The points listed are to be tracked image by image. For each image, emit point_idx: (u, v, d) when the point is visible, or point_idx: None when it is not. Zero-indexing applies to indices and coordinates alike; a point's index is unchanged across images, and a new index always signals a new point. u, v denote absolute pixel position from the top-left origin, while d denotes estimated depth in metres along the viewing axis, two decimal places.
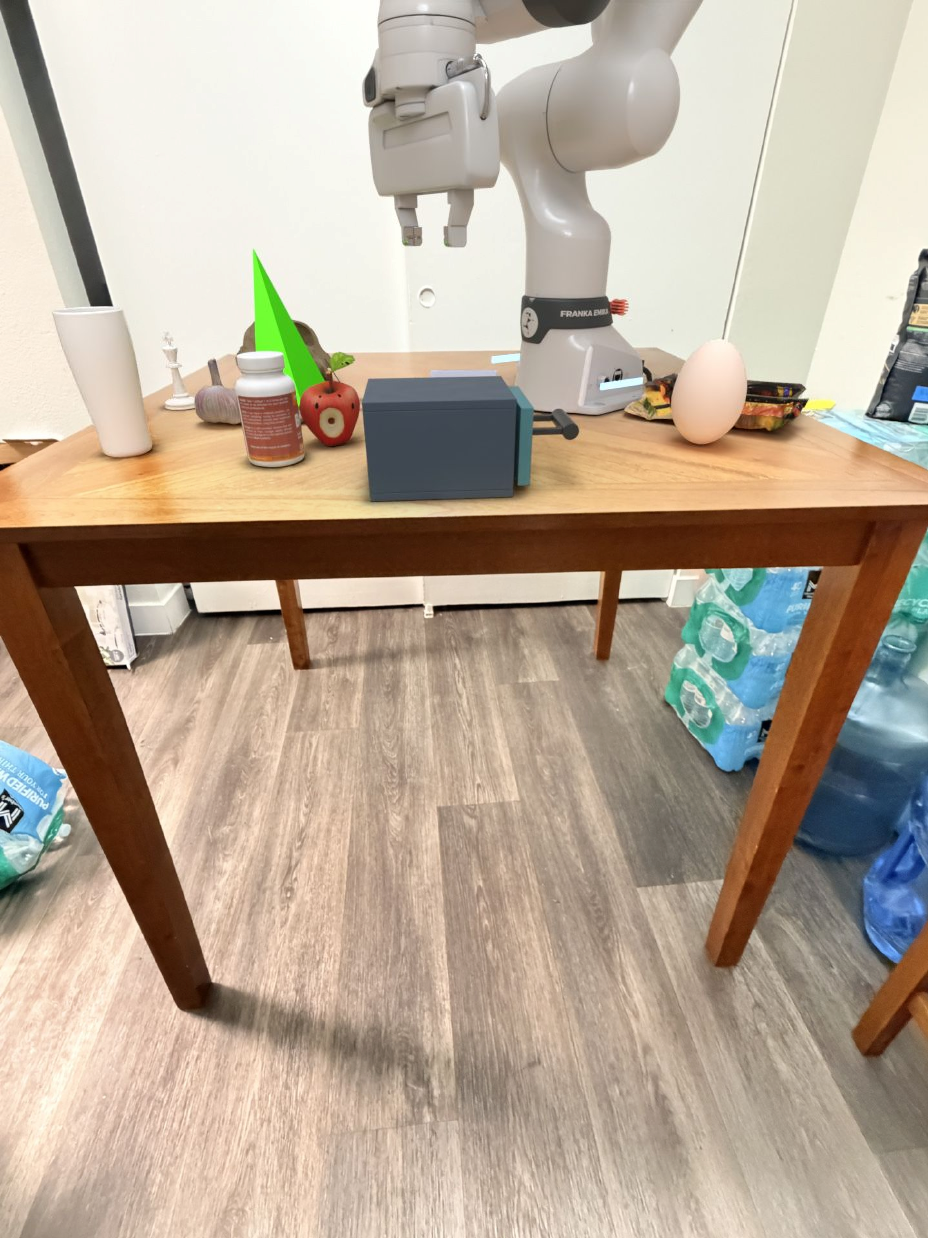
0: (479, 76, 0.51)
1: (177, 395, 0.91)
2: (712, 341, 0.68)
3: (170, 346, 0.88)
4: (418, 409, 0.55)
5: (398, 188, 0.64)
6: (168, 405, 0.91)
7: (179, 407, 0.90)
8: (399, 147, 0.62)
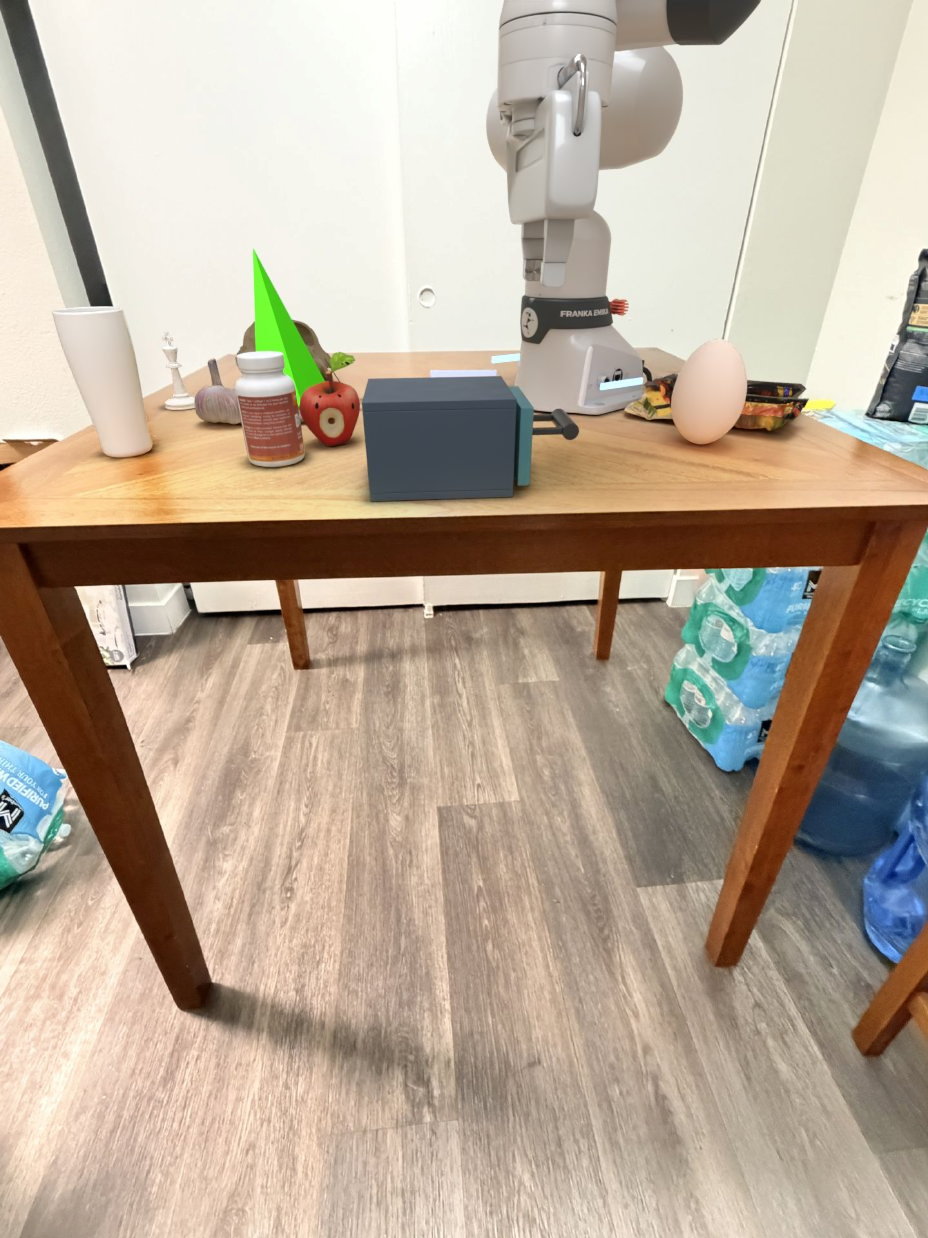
0: (575, 83, 0.41)
1: (177, 395, 0.91)
2: (712, 341, 0.68)
3: (170, 346, 0.88)
4: (418, 409, 0.55)
5: (518, 216, 0.56)
6: (168, 405, 0.91)
7: (179, 407, 0.90)
8: (521, 170, 0.54)
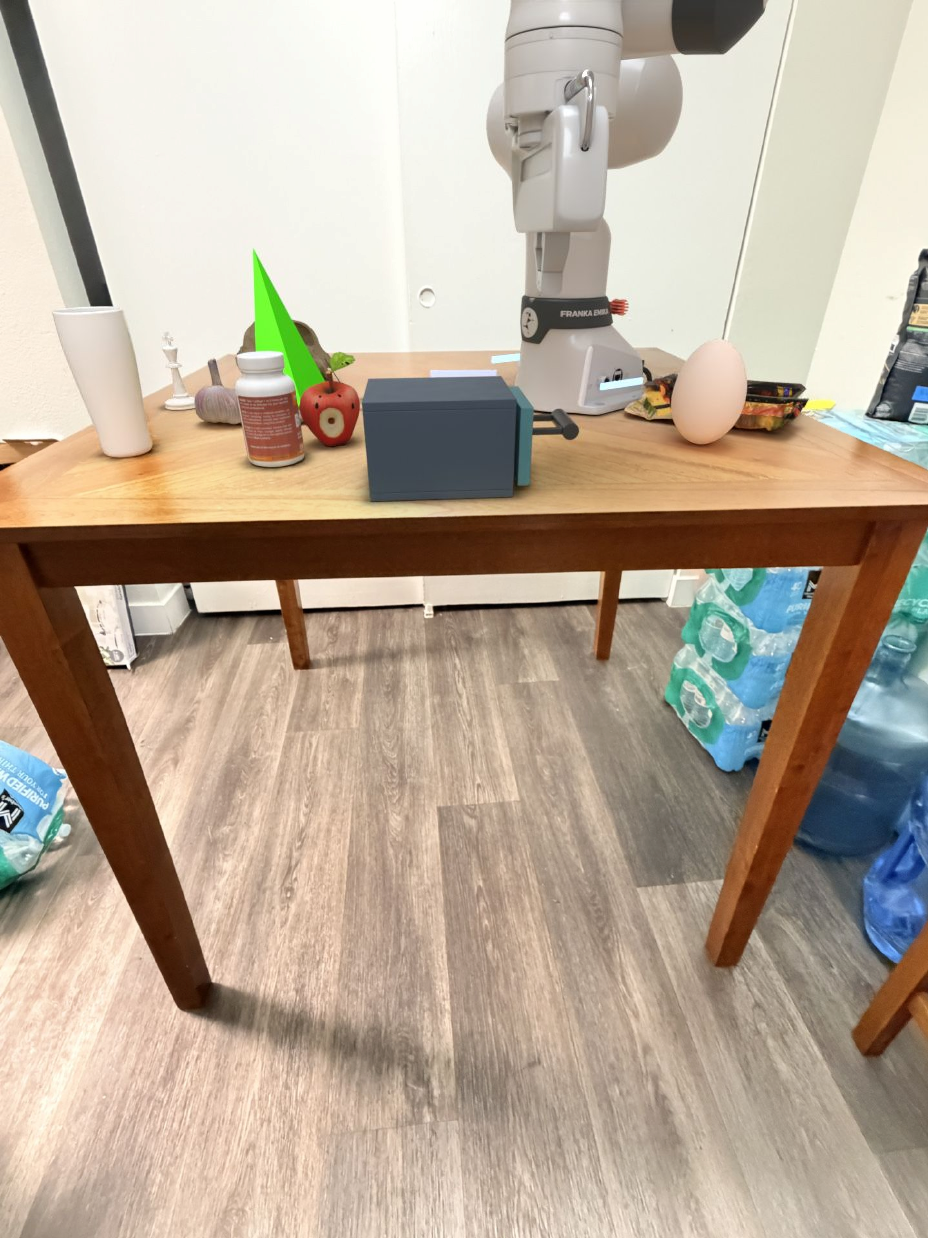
0: (582, 99, 0.41)
1: (177, 395, 0.91)
2: (712, 341, 0.68)
3: (170, 346, 0.88)
4: (418, 409, 0.55)
5: (524, 226, 0.56)
6: (168, 405, 0.91)
7: (179, 407, 0.90)
8: (527, 181, 0.54)
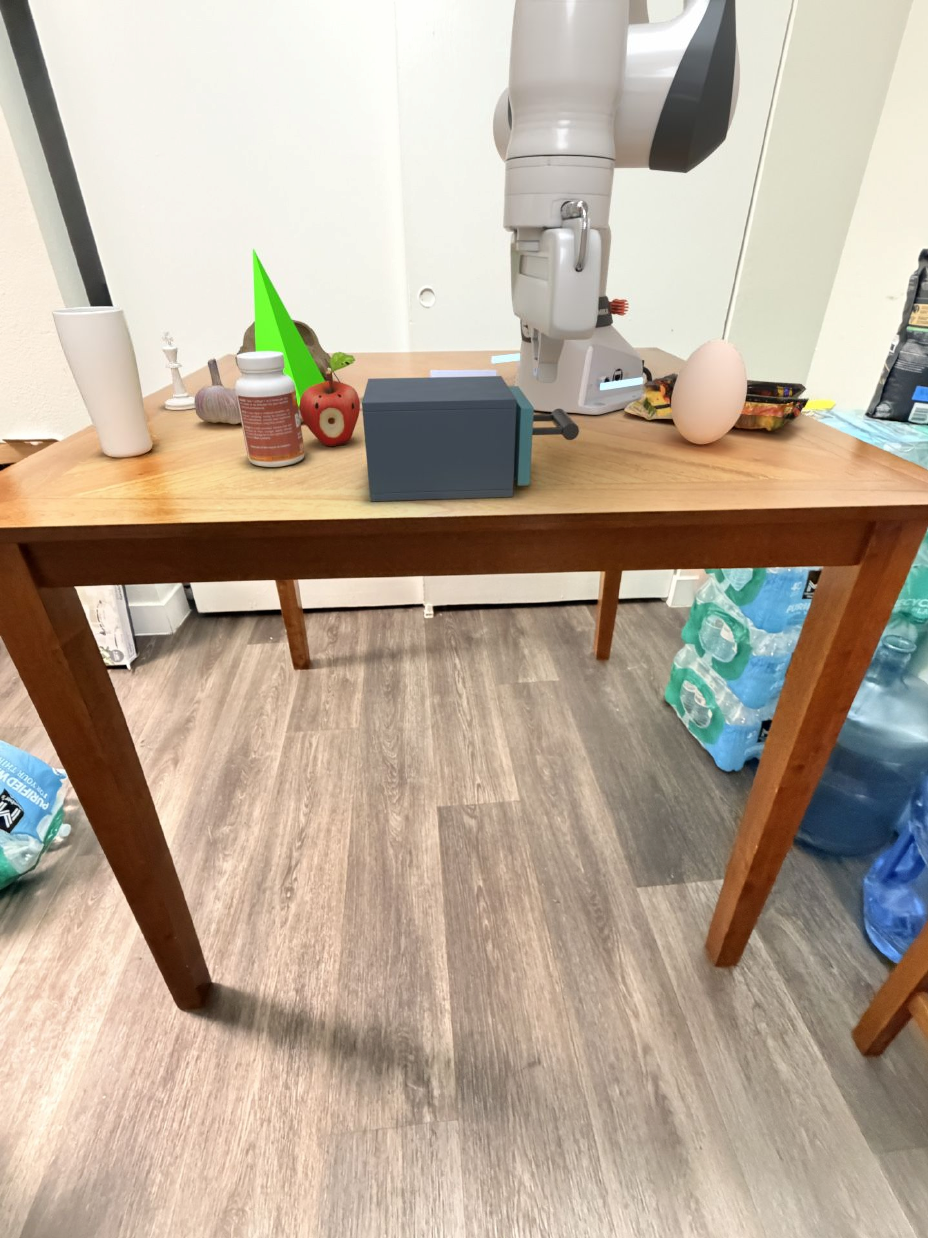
0: (577, 227, 0.45)
1: (177, 395, 0.91)
2: (712, 341, 0.68)
3: (170, 346, 0.88)
4: (418, 409, 0.55)
5: (522, 316, 0.60)
6: (168, 405, 0.91)
7: (179, 407, 0.90)
8: (525, 277, 0.57)
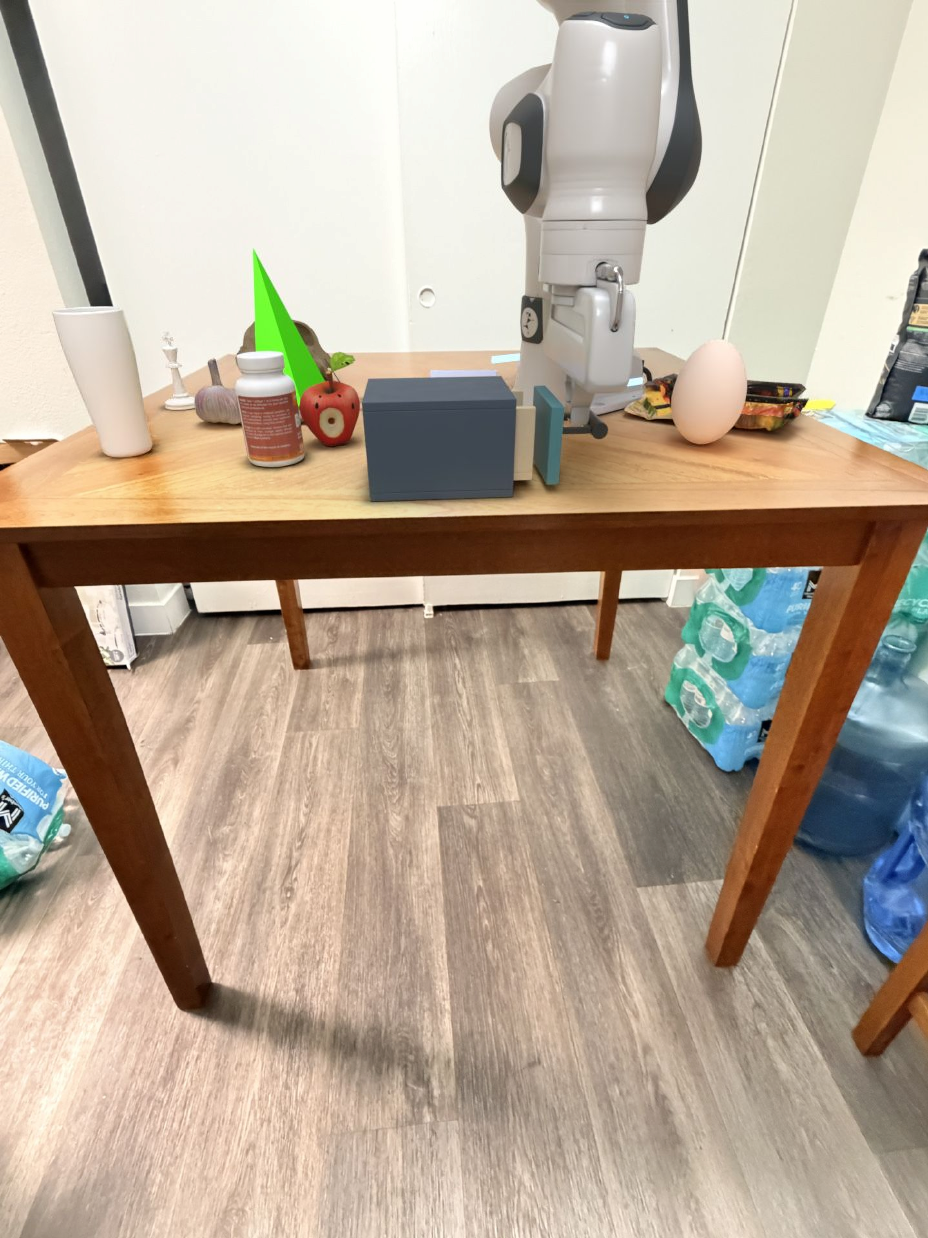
0: (613, 292, 0.47)
1: (177, 395, 0.91)
2: (712, 341, 0.68)
3: (170, 346, 0.88)
4: (418, 409, 0.55)
5: (554, 360, 0.62)
6: (168, 405, 0.91)
7: (179, 407, 0.90)
8: (558, 324, 0.60)
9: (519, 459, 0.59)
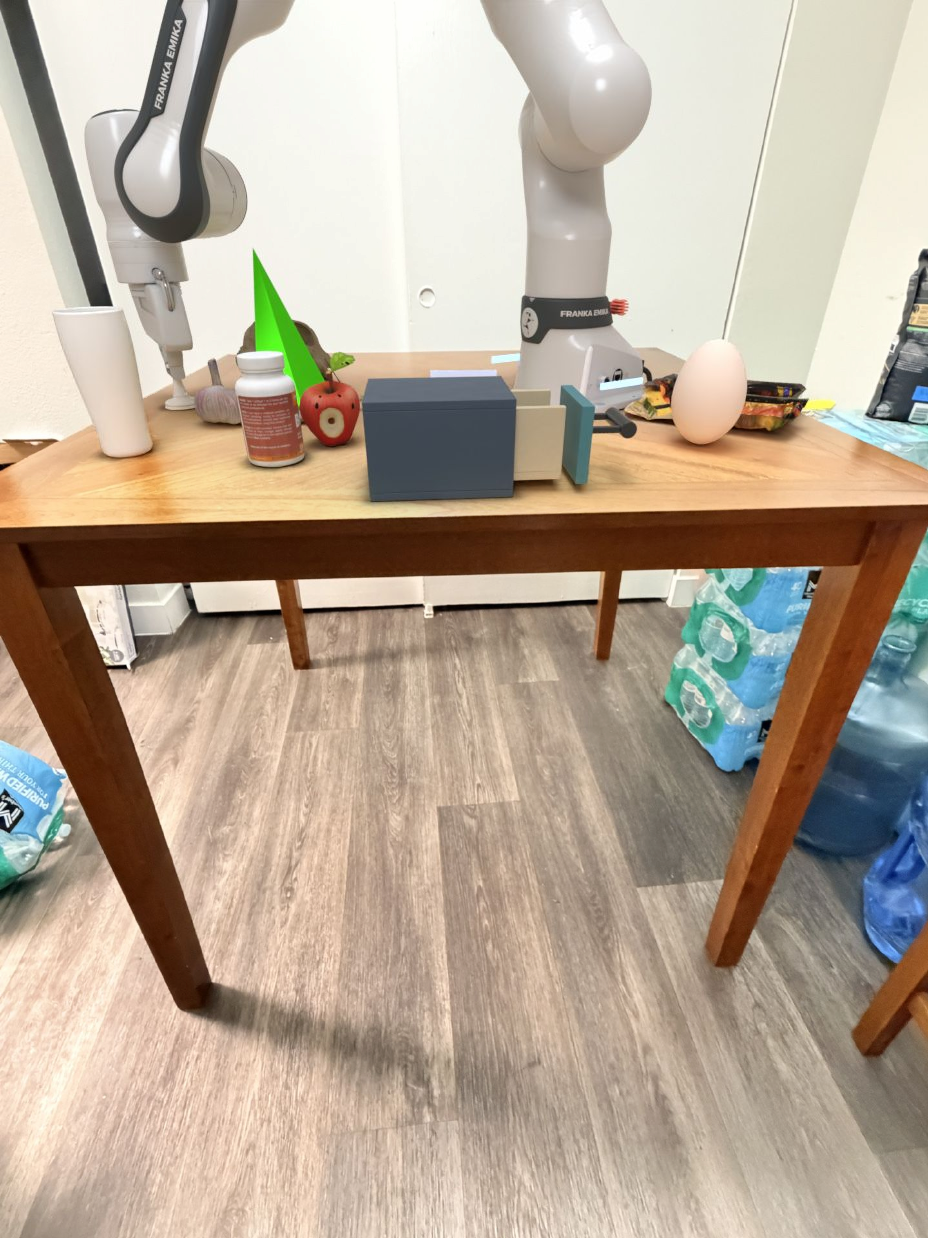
0: (162, 286, 0.77)
1: (177, 395, 0.91)
2: (712, 341, 0.68)
3: None
4: (418, 409, 0.55)
5: (150, 336, 0.90)
6: (168, 405, 0.91)
7: (179, 407, 0.90)
8: (144, 311, 0.87)
9: (548, 458, 0.60)
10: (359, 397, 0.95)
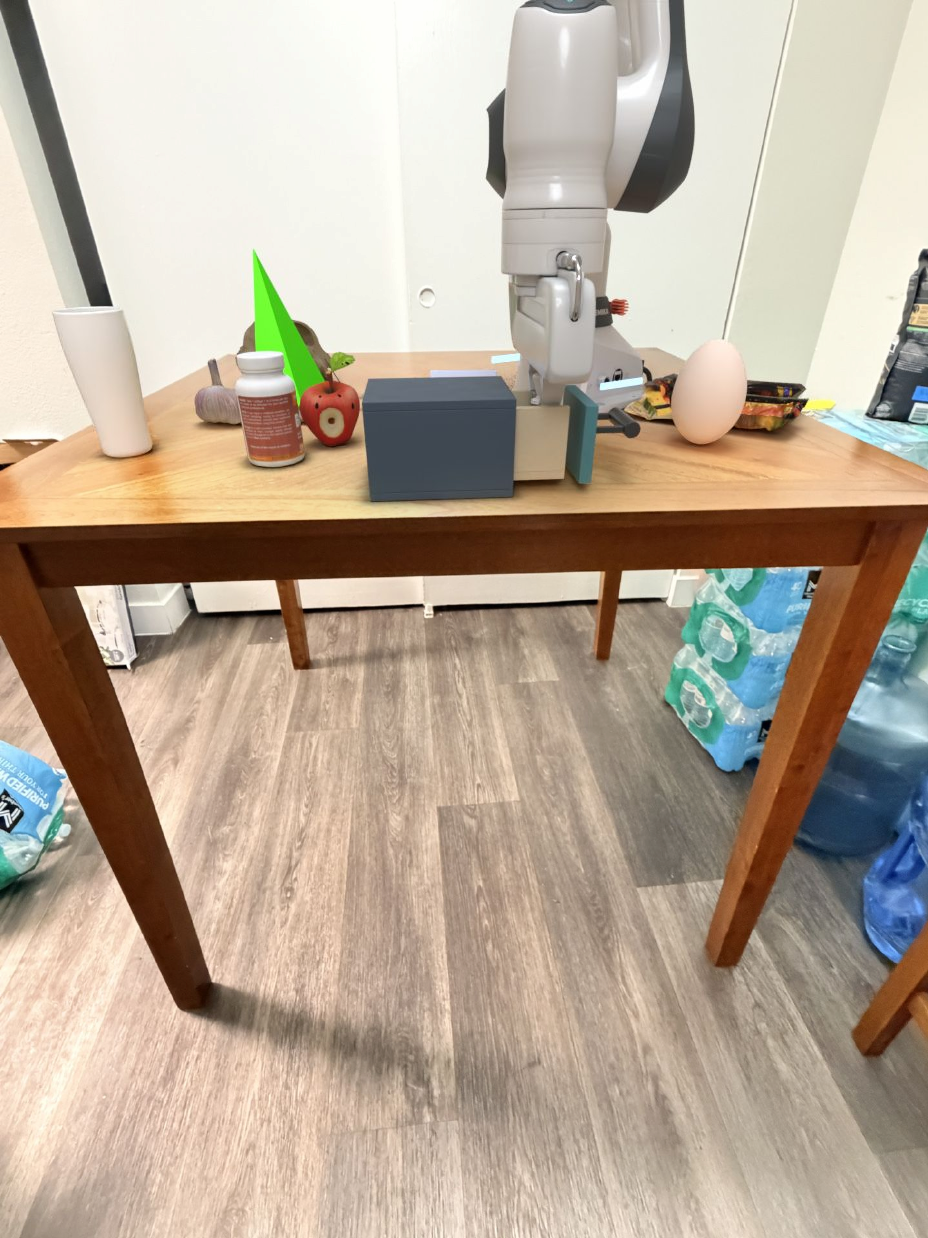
0: (572, 281, 0.47)
1: None
2: (712, 341, 0.68)
3: None
4: (418, 409, 0.55)
5: (521, 352, 0.62)
6: None
7: None
8: (523, 316, 0.59)
9: (552, 458, 0.60)
10: None
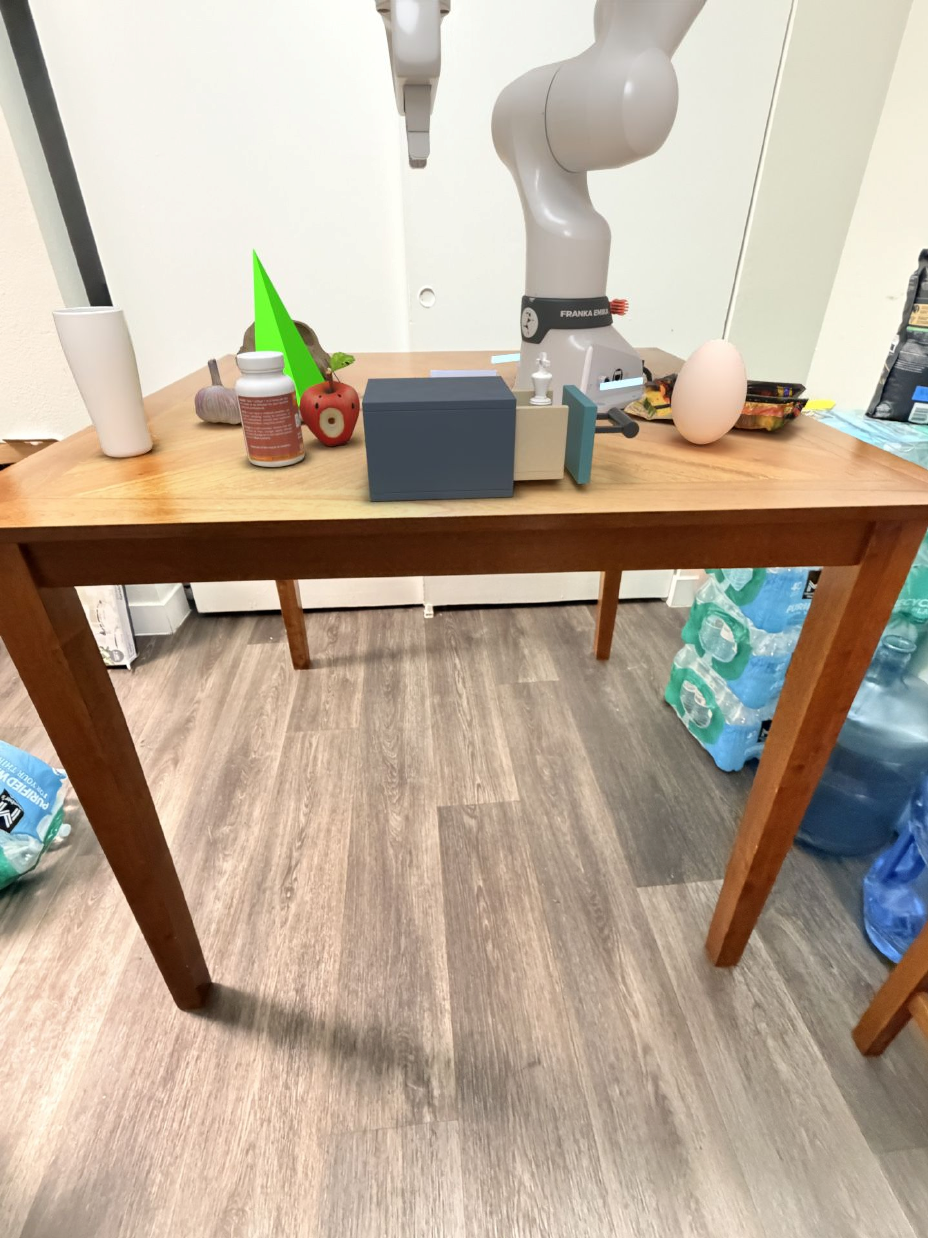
0: None
1: None
2: (712, 341, 0.68)
3: (543, 374, 0.59)
4: (418, 409, 0.55)
5: None
6: None
7: None
8: None
9: (551, 458, 0.60)
10: None
